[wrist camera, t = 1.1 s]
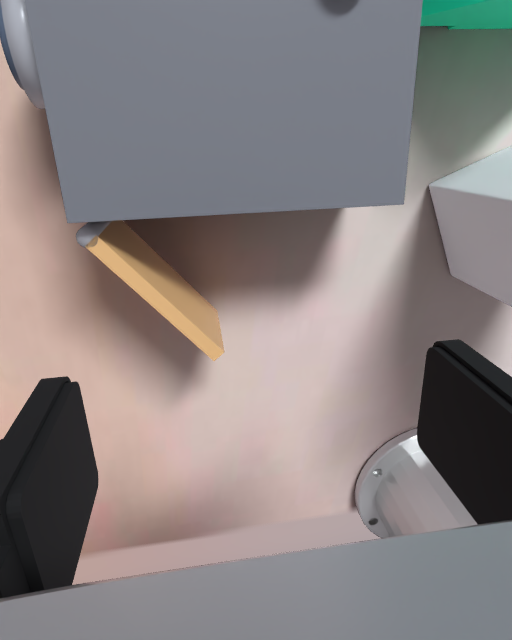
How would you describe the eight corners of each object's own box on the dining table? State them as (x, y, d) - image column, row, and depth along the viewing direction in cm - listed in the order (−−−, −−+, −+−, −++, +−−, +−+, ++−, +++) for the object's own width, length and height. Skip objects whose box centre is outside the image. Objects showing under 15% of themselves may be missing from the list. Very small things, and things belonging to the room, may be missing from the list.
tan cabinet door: (204, 322, 31) (208, 366, 25) (93, 219, 27) (66, 242, 21) (218, 309, 31) (225, 350, 25) (108, 204, 27) (85, 223, 21)
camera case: (349, 190, 29) (409, 209, 21) (71, 204, 27) (23, 231, 19) (359, -36, 25) (442, -119, 17) (25, -40, 23) (-63, -138, 15)
